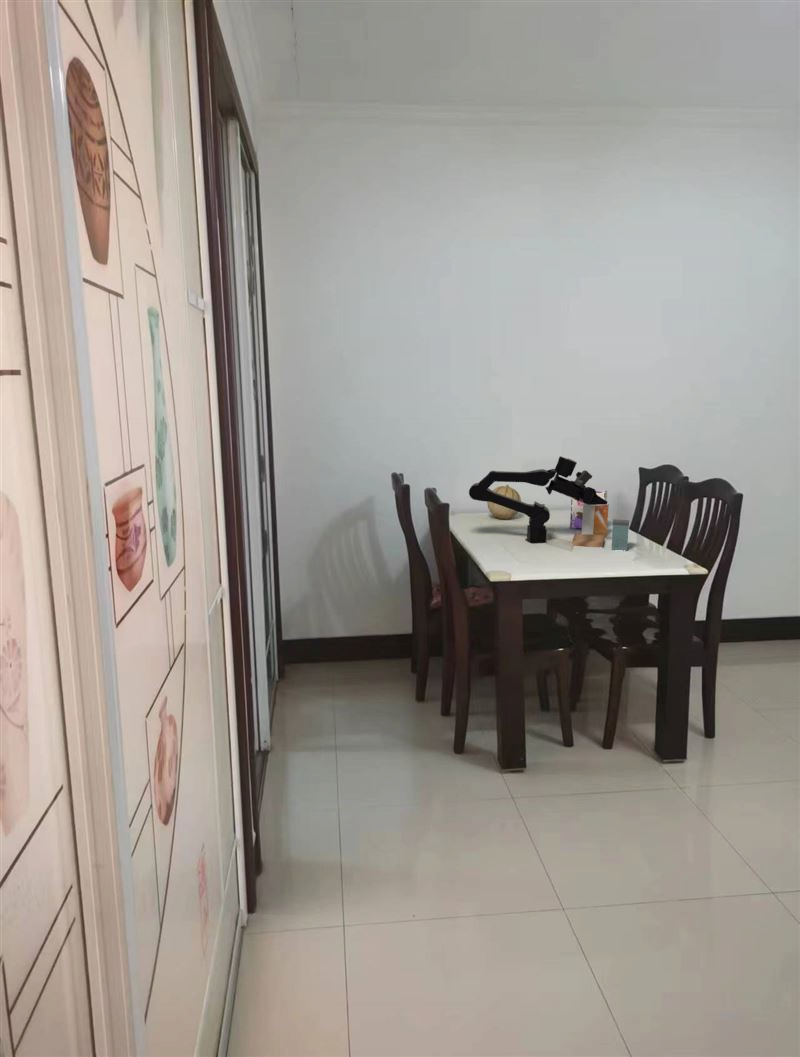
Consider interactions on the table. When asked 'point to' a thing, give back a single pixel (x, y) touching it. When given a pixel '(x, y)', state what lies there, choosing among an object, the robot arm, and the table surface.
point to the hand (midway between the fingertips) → (603, 502)
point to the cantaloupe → (500, 510)
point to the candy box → (581, 510)
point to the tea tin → (620, 534)
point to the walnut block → (588, 540)
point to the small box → (595, 519)
